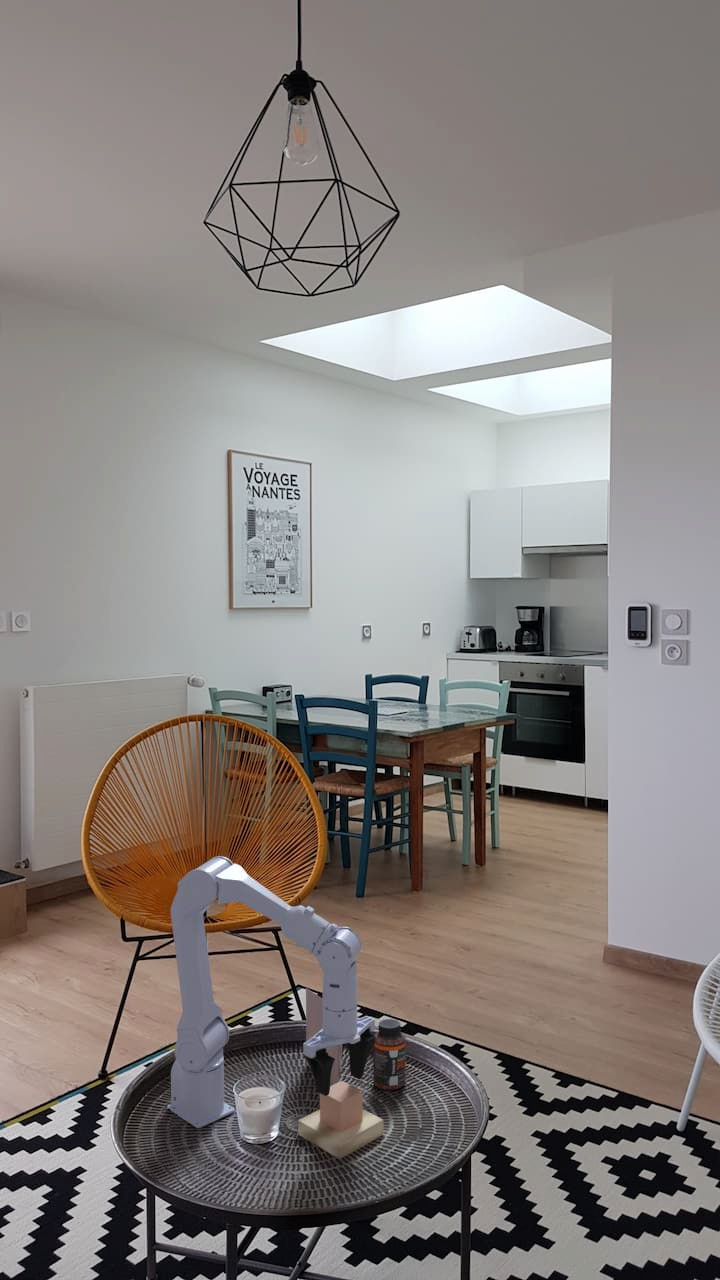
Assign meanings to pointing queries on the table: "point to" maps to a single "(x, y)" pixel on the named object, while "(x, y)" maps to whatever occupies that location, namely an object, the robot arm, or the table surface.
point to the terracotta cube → (341, 1106)
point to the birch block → (340, 1133)
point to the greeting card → (315, 1025)
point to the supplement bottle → (389, 1056)
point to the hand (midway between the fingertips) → (340, 1084)
